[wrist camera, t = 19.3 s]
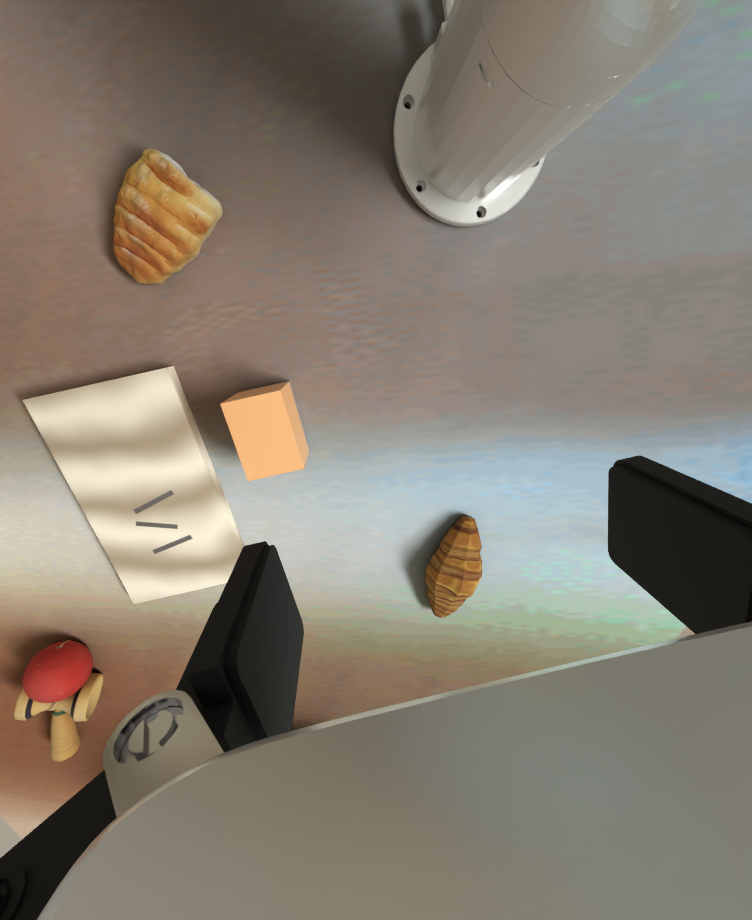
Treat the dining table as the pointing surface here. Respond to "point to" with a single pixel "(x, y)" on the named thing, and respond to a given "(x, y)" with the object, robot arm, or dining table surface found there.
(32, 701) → the kendama
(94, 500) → the ash board
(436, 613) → the croissant
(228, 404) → the block
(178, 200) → the pastry
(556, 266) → the dining table surface
